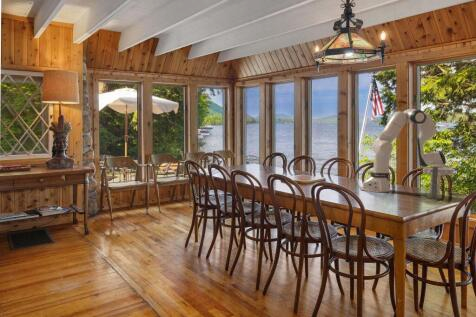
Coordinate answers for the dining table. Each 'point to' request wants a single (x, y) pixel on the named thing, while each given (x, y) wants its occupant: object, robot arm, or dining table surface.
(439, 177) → the link
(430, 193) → the mat
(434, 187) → the stand
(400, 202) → the dining table surface
